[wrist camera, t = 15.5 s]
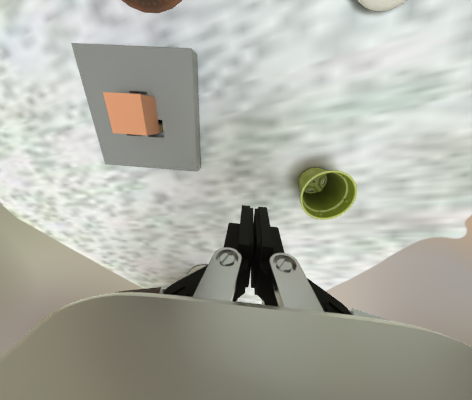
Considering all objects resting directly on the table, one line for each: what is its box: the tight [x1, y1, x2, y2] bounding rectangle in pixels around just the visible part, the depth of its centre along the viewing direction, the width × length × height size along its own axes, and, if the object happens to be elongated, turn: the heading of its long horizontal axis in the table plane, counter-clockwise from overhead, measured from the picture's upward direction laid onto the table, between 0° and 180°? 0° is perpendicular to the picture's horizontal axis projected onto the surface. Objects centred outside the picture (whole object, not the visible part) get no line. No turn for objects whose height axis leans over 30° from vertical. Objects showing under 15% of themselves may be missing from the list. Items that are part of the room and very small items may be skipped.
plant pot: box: [299, 167, 357, 220], centre depth 34 cm, size 9×9×9 cm
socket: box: [71, 43, 201, 171], centre depth 33 cm, size 20×20×3 cm
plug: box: [103, 92, 164, 135], centre depth 31 cm, size 6×6×7 cm
